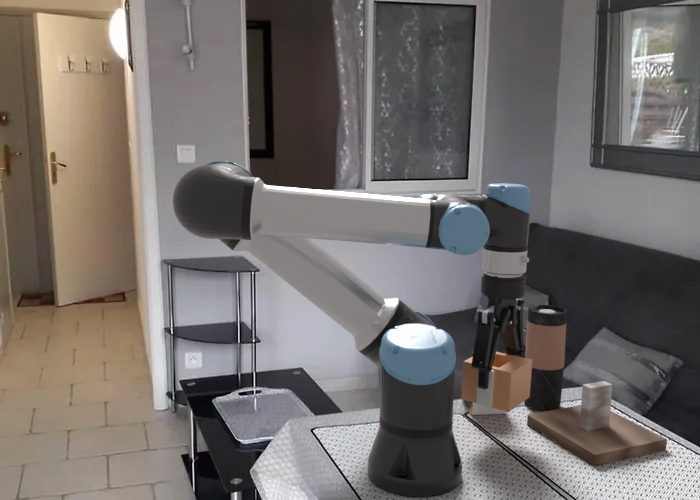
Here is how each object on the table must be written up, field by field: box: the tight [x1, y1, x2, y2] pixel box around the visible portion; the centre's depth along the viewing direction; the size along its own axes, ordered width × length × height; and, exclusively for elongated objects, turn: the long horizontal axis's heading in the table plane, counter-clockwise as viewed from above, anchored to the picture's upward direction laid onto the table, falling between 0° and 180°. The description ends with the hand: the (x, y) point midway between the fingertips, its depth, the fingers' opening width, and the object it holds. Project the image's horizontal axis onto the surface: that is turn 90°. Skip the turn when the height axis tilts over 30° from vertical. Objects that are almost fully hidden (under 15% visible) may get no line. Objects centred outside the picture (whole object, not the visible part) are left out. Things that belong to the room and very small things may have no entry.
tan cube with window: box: [460, 351, 532, 413], centre depth 125 cm, size 9×9×7 cm
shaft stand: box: [526, 380, 668, 467], centre depth 127 cm, size 16×18×10 cm
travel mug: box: [523, 304, 568, 412], centre depth 141 cm, size 8×8×20 cm
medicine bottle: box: [461, 349, 507, 416], centre depth 140 cm, size 7×7×12 cm
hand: (496, 396), depth 126 cm, fingers closed on tan cube with window, 9 cm apart
